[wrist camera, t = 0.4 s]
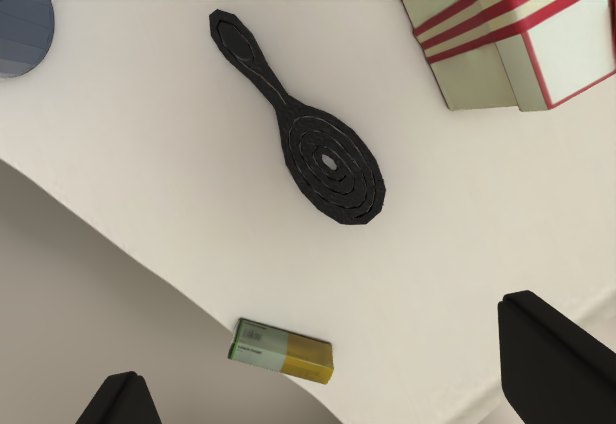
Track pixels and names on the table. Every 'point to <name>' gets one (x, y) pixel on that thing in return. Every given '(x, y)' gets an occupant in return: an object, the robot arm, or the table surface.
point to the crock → (24, 35)
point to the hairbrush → (307, 135)
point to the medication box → (281, 352)
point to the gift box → (515, 49)
